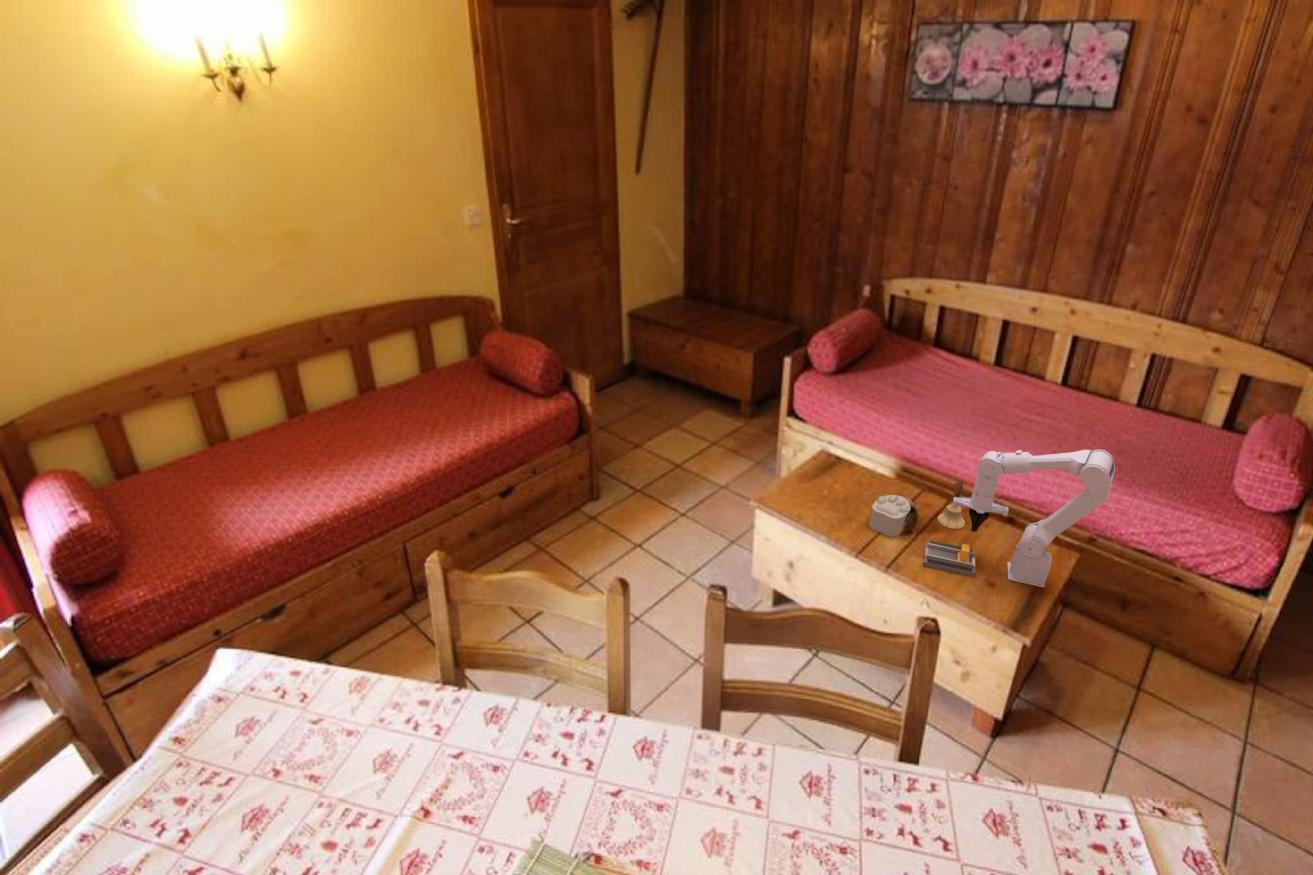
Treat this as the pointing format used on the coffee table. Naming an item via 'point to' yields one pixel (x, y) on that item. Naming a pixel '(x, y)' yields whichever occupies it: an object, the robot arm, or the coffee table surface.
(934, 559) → the breaker panel
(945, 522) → the hand bell
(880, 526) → the lumpy-topped squat cylinder
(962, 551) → the breaker lever
